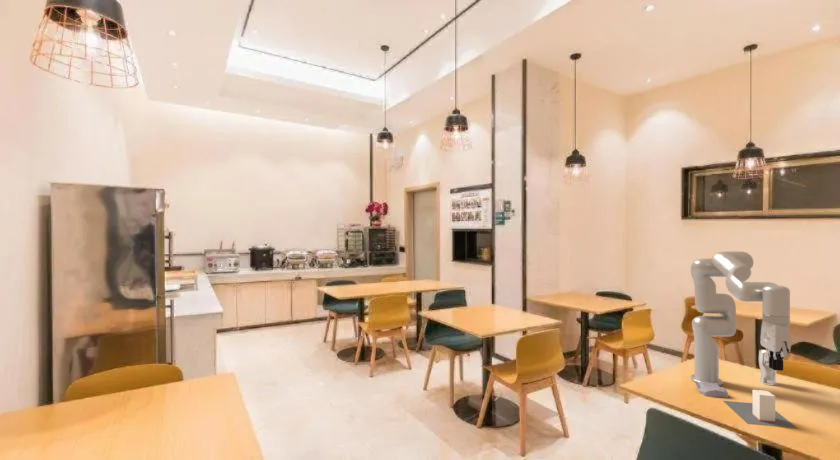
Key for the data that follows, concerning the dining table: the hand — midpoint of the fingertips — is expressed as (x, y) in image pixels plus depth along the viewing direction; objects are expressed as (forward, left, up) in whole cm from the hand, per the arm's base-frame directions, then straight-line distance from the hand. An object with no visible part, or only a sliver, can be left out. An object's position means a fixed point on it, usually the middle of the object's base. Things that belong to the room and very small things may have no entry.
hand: (776, 368), depth 147 cm
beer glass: (-50, +22, -23) cm, 59 cm away
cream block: (-8, 0, -22) cm, 24 cm away
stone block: (-31, -9, -24) cm, 40 cm away
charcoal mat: (-12, 0, -23) cm, 26 cm away
